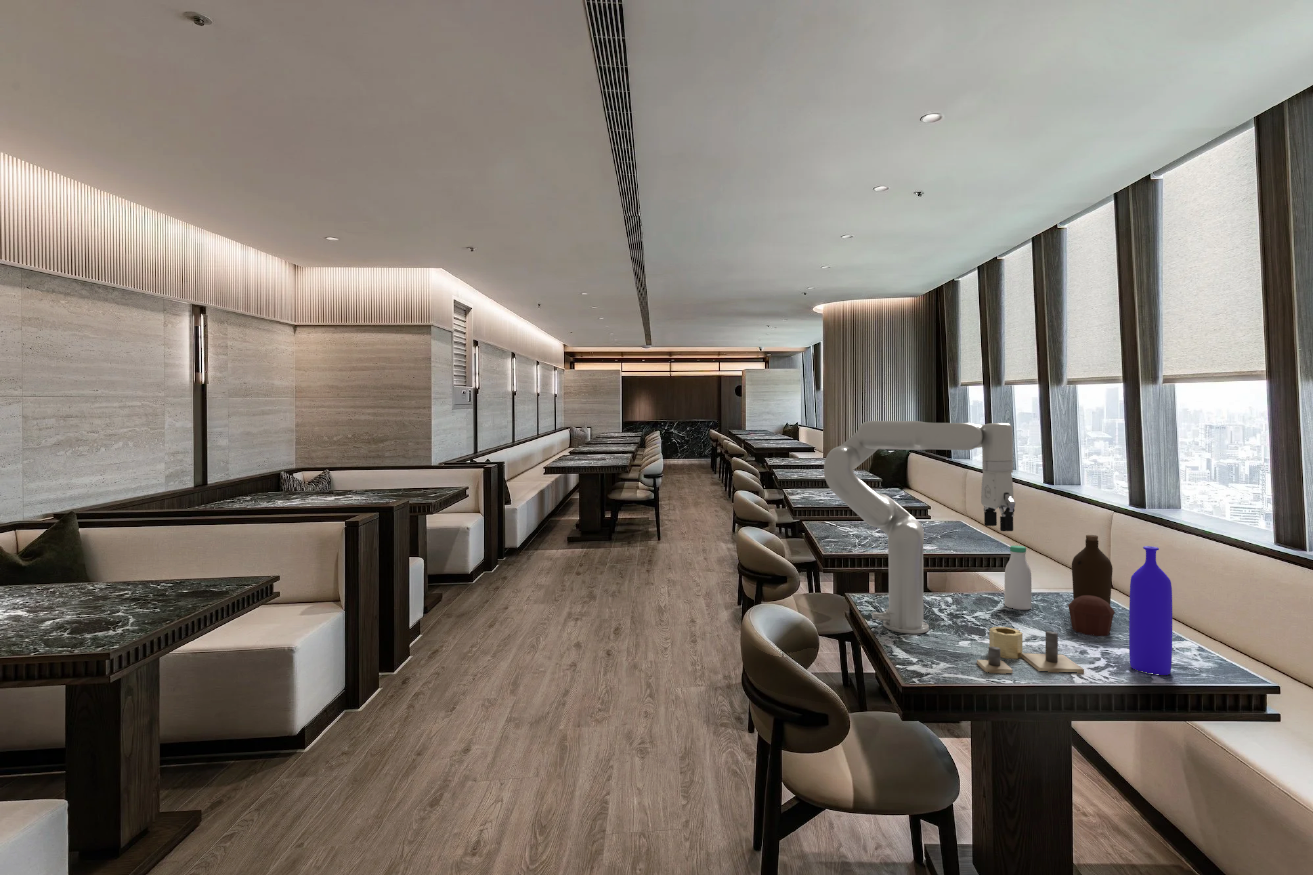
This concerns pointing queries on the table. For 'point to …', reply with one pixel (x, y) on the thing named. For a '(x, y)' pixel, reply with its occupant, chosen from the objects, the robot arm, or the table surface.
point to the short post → (994, 662)
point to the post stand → (1051, 658)
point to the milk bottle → (1018, 580)
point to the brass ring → (1006, 641)
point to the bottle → (1150, 618)
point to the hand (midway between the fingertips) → (998, 528)
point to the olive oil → (1092, 571)
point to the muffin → (1091, 615)
